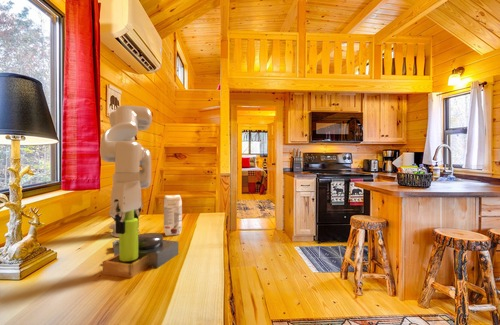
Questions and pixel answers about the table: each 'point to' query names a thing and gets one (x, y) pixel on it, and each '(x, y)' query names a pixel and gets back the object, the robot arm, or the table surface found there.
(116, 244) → the egg carton
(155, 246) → the grey block with dome
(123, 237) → the soap dispenser
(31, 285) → the table surface
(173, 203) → the juice carton
